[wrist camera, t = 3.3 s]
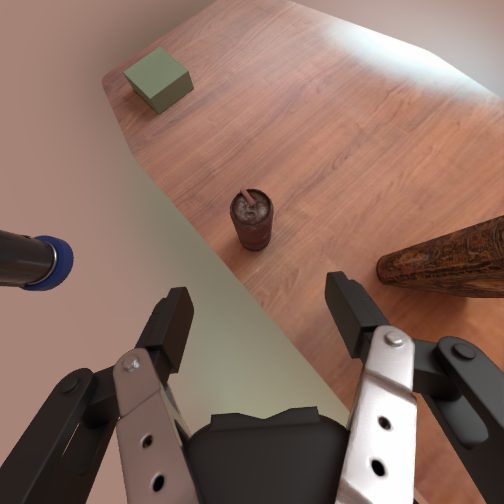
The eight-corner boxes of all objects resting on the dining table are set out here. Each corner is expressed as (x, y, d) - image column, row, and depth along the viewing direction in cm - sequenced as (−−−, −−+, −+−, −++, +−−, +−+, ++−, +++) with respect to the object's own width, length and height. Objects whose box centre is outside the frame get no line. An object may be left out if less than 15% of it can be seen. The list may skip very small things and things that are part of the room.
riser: (159, 114, 49) (150, 98, 45) (133, 89, 51) (122, 72, 47) (193, 88, 50) (188, 70, 46) (167, 64, 52) (159, 46, 48)
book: (376, 283, 37) (586, 257, 13) (377, 254, 39) (572, 182, 14) (471, 297, 36) (905, 300, 12) (469, 267, 37) (862, 213, 13)
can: (257, 216, 42) (255, 176, 28) (276, 240, 40) (283, 210, 27) (233, 232, 41) (218, 200, 27) (251, 257, 40) (245, 236, 26)
